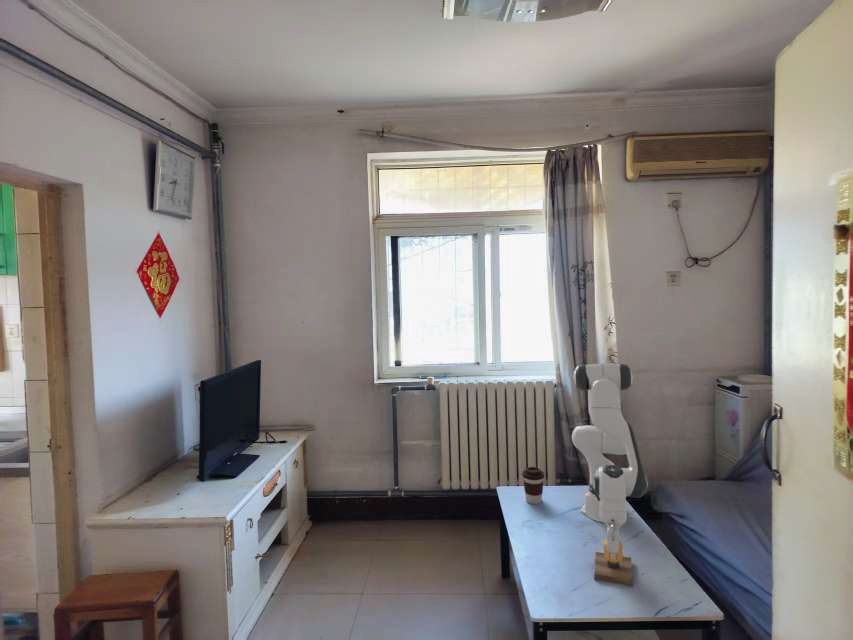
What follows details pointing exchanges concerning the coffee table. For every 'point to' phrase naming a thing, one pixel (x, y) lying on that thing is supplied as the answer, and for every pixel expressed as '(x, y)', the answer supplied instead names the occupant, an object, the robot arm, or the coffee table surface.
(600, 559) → the wooden peg stand
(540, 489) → the coffee cup
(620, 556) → the domed octagonal prism
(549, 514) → the coffee table surface
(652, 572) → the coffee table surface
